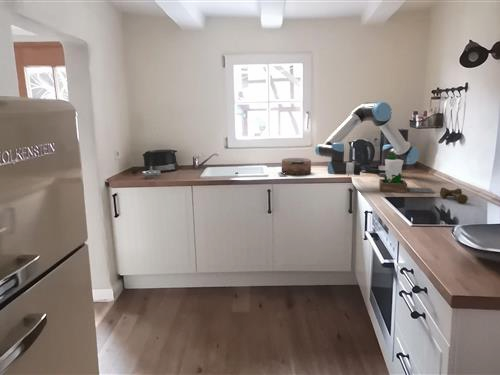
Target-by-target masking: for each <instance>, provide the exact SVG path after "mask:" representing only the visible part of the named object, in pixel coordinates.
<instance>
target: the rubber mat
mask: <svg viewBox="0 0 500 375" xmlns="http://www.w3.org/2000/svg"><path fill="white" fill-rule="evenodd" d="M407 191H408V192H409V193H411V194H412V193H413V194H414V193H415V194H432V195H433V194H435V192H434V190H433V189H432V188H430V187H413V186H412V187H411V186H410V187H409V186H407Z"/></svg>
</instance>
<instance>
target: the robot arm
mask: <svg viewBox="0 0 500 375" xmlns="http://www.w3.org/2000/svg"><path fill="white" fill-rule="evenodd" d="M392 114H393V113H392V107H391V105H390V104H389V103H387V102H383V101H374V102H370V101H369V102H363V103H361V104H359V105H358V106H357V107H355V108H354V109H353V110H352V111H351V112H350V113H349V114H348V117H347V118H346V119H345V120H344V121H343V122H342V123H341V125H340V126H338V127H337V129H335V131H333V133H332V134H331V135H330V136H329V137H328V138H327V139H326V140H325V141H324V142H323V143H321V144H320V143H319V144H317V145H316V147H315V150H314V151H315V153H316V155H317V156H319V157H321V158H322V157H326V158H331V159H330V161H329V162H327V173H328V175H336V176H338V175H339V176H340V175H341V176H342V175H344V176H348V177H349V176H353V175H354V176H360V175H361V174H370V175H371V174H373V175H377V176H378V177H381V178H385V174H391V172H392V169H385V159H388V158H389V156H396V159H399V160H404V162H403V165H414V164H416V162H417V161H418V159H419V156H420V150H419V148H418V147H415V146H413V145H412V144H411V143H410V142H409V141H406V140H405V138H404V137H403V135H402V133H401V132H400V131H399V129H398V127H397V126H396V125H395V123H394V121H393V120H392ZM366 121H371V123H373V125H374V126H375V127H376V128H377V127H378V128H379V129H380V131H381V132H382V133H383V135H384V136H385V138H386V139H387V141H388V142H389V143H390V144H384V145H383V146H382V152H381V165H379V164H376V165H361V163H360V162H354V163H353V162H345V161H344V160H345V143H343V142H342V141H343V140H344V139H345V138H346V137H347V136H348V135H349V134H350V133H351V132H352V131H353V130H354V129H355V128H356V127H357V126H359V125H361V124H362V123H363V122H366Z"/></svg>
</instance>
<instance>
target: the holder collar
mask: <svg viewBox="0 0 500 375" xmlns="http://www.w3.org/2000/svg"><path fill="white" fill-rule="evenodd" d="M384 182H385V178H379V184H378V187H379V191H380V192H382V193H383V192H386V193H387V192H388V193H408V192H407V191H408V189H407V187H408V183H407V181H406V180H405V179H401V183H384Z"/></svg>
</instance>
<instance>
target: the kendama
mask: <svg viewBox="0 0 500 375" xmlns="http://www.w3.org/2000/svg"><path fill="white" fill-rule="evenodd" d="M439 196H440V198H441V197H442V198H441V199H445V198H447V197H453V200H454V201H456V202H457V203H458V204H459V203H460V205H462V204H463V205H464V204H467V202H468V199H469V198H468V196H467V195H466V194H463V191H462V189H461V188H456V189H447V188H446V187H441V188H440V190H439Z"/></svg>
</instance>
